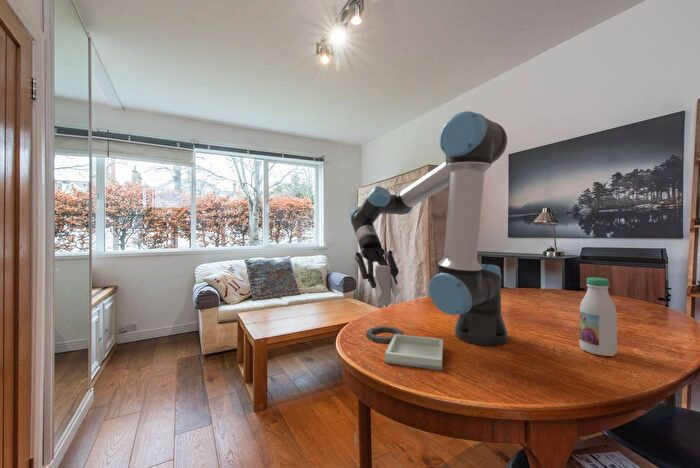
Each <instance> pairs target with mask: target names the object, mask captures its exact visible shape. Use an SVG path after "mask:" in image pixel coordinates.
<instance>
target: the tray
mask: <svg viewBox="0 0 700 468" xmlns="http://www.w3.org/2000/svg"><path fill="white" fill-rule="evenodd" d="M393 334H394V333H393ZM392 336H393V338H392V340H391V342H390V343H388V346H387V348H386V350H385V352H384V363H386V364H392V365H401V366H407V367H415V368H421V369H429V370H435V371H436V370H438V371H443V359H444V357H443V356H444V355H443V354H444V338H440V337H439V338H436V337H428V336H418V335H417V336H416V335H408V334H403V335H400V334H394V335H392Z"/></svg>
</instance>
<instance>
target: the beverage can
mask: <svg viewBox="0 0 700 468" xmlns="http://www.w3.org/2000/svg"><path fill="white" fill-rule="evenodd" d="M374 268H375V269H374V271H375V273H374V274H375V275H374V276H376V277H377V280H378V283H379V285H380V288H381V291H382V295H381V297H380V298H377V295H376V294H375V302H376V304H377V305H380V306H387V305H390V304H391V303H392V290H391V274H390V266H387V265H376V266H375V267H374Z"/></svg>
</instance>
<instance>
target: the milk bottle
mask: <svg viewBox="0 0 700 468" xmlns="http://www.w3.org/2000/svg"><path fill="white" fill-rule="evenodd" d="M609 285H610V279H608V278H604V277H603V278H602V277H593V276H591V277H586V286H587V290H586V293H585V295H584V296H583V298H582V300H581V302H580V306H579V348H580V349H581V350H582V349H583V350H585V351H587V352H590V353H594V354H599V355H614V354H616V355H617V354H618V317H617V309H616V305H615V304H614V302H613V299H612V298H611V296H610V293H609V289H608V288H610V287H609ZM583 350H582V351H583ZM585 351H584V352H585ZM587 352H586V353H587ZM590 353H589V354H590Z"/></svg>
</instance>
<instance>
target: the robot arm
mask: <svg viewBox="0 0 700 468" xmlns="http://www.w3.org/2000/svg"><path fill="white" fill-rule="evenodd" d="M438 141H439V142H438V143H439V148H440V149H441V150H442V152H443V154H444V155H445V160H444V161H443V162H442V163H441V164H439V165H437V166H436V167H435V168H434V169H431V170H430V171H429V172H427V173H425V174H424V175H423V176H422V177H420V178H419V179H416V180H415V181H414V182H413V183H411V184H410V185H408V186H407V187H405V188H404V189H403V190H401V191H399V192H397V193H396V194H391V192H390V191H389V190H388V189H386V188H385V187H382V186H379V185H377V186H374V187H373V188H372V190H371V191H370V192H369V193H368V194H367V197H366V198H365V200H364V201H363V203H362V205H361V206H356V207H355V208H354V209H352V210H351V212H350V214H349V217H350V221H351V225H352V227H353V230H354V233H355V237H356V241H357V243H358V246H359V249H360V251H361V252H358V251H357V252H356V251H355V256H354V259H355V261H356V262H357V265H358V268H359V271H360V275H361V278H362V279H363V280H367V283H369V284H370V287H371V289H374V291H375V296H376V295H377V298H380V297H381V295H382V291H381V288H380V285H379V283H378V280H377V277H376V276H375V275H374V274H375V273H374V263H377V264H378V266H380V265H387V266H390V274H391V293H392V295H393V297H395V298H397V296H398V295H399V292H400V291H399V289H398V286H397V285H398V281H397V278H398V277H397V276H398V275H399V272H400V271H399V269H398V267H397V266H398V265H397V263H396V261H395V259H394V257H393V251H392V250H389V251H387V250H385V249H384V248H383V247H382V246H383V245H382V243H381V240H380V237H379V236H378V233H377V231H376V228H375V226H374V223H375V222H376V220H377V219H378V218H379V217H380V216H381V215H382V214H383V215H399V216H400V215H401V216H402V215H407V214H409V213H410V212H412V210H413V208H414V206H416V205H418V204H420V203H421V202H423V201H425V200H427V199H428V198H430V197H432V196H433V195H435V194H437V193H439V192H440V191H442V190H444V189H445V188H446V187H448V186H449V188H448V200H447V201H448V202H447V213H446V214H447V216H446V229H445V230H446V231H445V241H444V242H445V243H444V253H443V254H444V255H443V258H442V259H441V260H440V261H439V262H438V263H437V273H436V274H435V275H434V276H433V277H432V278H431V279H430V281H429V283H428V294H429V298H430V300H431V302H432V303H433V304H434V306H435V307H436V309H438V310H439V311H440V312H441V313H444V314H446V315H448V316H458V317H457V320H456V323H455V326H454V334H455V336H456V338H458V339H460V340H461V341H463V342H467V343H470V344H473V345H474V344H475V345H478V346H488V347H489V346H490V347H491V346H500V345H504V344H506V343H507V342H508V341H509V336H508V330H507V326H506V324H505V322H504V319H503V316H502V274H501V268H500V266H498V265H496V264H486V263H485V264H484V263H479V261H478V251H479V250H478V248H479V239H480V238H479V237H480V228H481V227H480V226H481V215H482V206H483V205H482V204H483V203H482V202H483V193H484V191H483V190H484V181H485V173H486V171H488V170H489V169H490V168H491V167H492V164H493V163H495V162H496V161H498V160H499V159H500V158H501V157H502V156H503V154H504V152H505V151H506V148H507V146H508V135H507V132H506V131H505V129H504V128H503V126H502V125H500V124H499V123H497V122H494V121H493V120H490V119H488V118H486V116H484V115H483V114H482V113H480V112H474V111H470V110H466V111H462V112H459V113H456V114H454V115H453V116H452V117H450V118H449V120H448V121H447V122H446V123H445V124H444V125H443V127H442V129H441V131H440V133H439V139H438ZM364 259H365V260H367V261H366V263H367V267H366V263H365V262H364Z"/></svg>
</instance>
